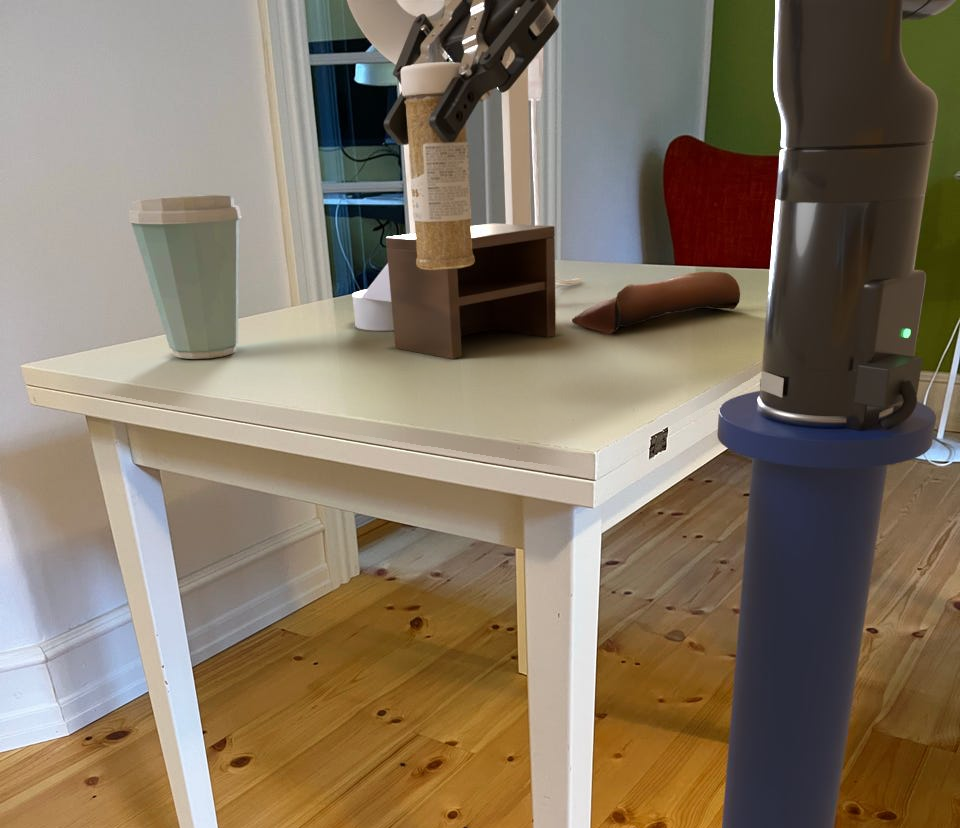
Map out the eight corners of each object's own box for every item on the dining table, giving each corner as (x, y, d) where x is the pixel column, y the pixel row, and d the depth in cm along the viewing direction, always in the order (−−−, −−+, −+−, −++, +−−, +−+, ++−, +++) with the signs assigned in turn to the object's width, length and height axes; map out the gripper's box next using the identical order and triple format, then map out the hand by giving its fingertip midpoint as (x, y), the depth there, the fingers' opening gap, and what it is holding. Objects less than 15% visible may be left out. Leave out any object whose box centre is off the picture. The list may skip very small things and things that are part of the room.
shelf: (556, 335, 101) (554, 226, 97) (452, 359, 93) (445, 241, 88) (496, 326, 107) (492, 223, 103) (394, 348, 99) (385, 237, 95)
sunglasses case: (683, 298, 114) (709, 247, 109) (721, 337, 112) (749, 286, 107) (565, 321, 105) (586, 266, 100) (603, 363, 103) (627, 309, 98)
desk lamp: (338, 312, 121) (287, -149, 100) (511, 277, 141) (499, -112, 120) (460, 327, 108) (431, -200, 87) (632, 286, 128) (641, -149, 107)
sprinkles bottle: (415, 265, 77) (399, 67, 71) (473, 261, 77) (462, 63, 71) (417, 272, 73) (400, 63, 67) (478, 268, 73) (466, 59, 67)
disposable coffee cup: (151, 350, 104) (120, 195, 98) (252, 339, 108) (230, 188, 101) (159, 369, 96) (127, 200, 89) (270, 356, 99) (247, 192, 92)
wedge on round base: (475, 324, 109) (400, 313, 118) (471, 259, 106) (395, 253, 115) (412, 337, 104) (339, 325, 113) (407, 270, 101) (332, 263, 109)
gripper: (438, -89, 74) (323, 100, 72) (579, -132, 64) (450, 85, 62) (494, -2, 79) (388, 175, 78) (631, -30, 69) (514, 172, 68)
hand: (416, 134), depth 70 cm, fingers closed on sprinkles bottle, 4 cm apart
